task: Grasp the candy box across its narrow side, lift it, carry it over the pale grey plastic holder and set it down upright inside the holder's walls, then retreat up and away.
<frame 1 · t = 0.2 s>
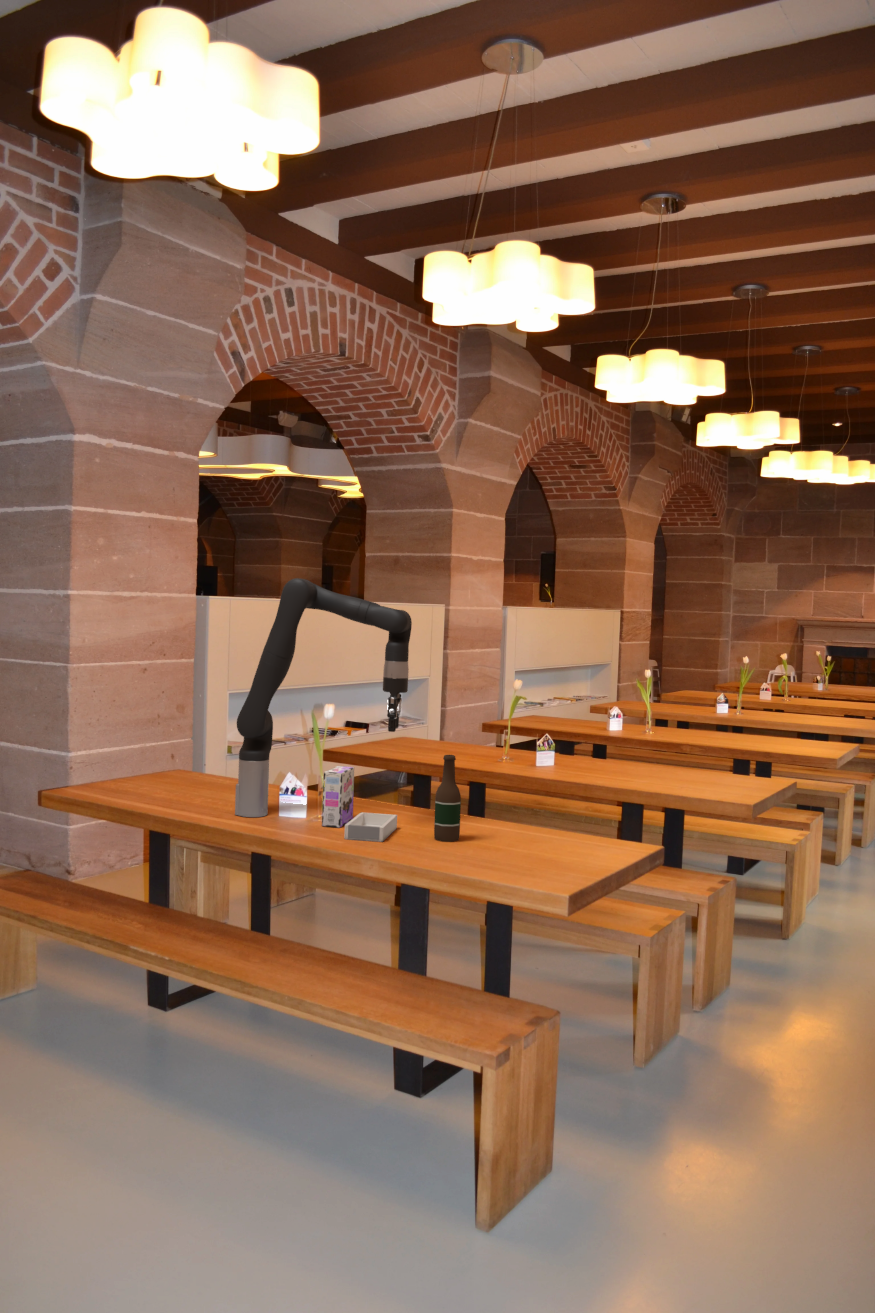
hand: (393, 729, 298), 29 cm above the table, fingers open, 8 cm apart
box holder: (371, 833, 286), on the table
candy box: (337, 823, 299), on the table
beer bottle: (446, 839, 282), on the table
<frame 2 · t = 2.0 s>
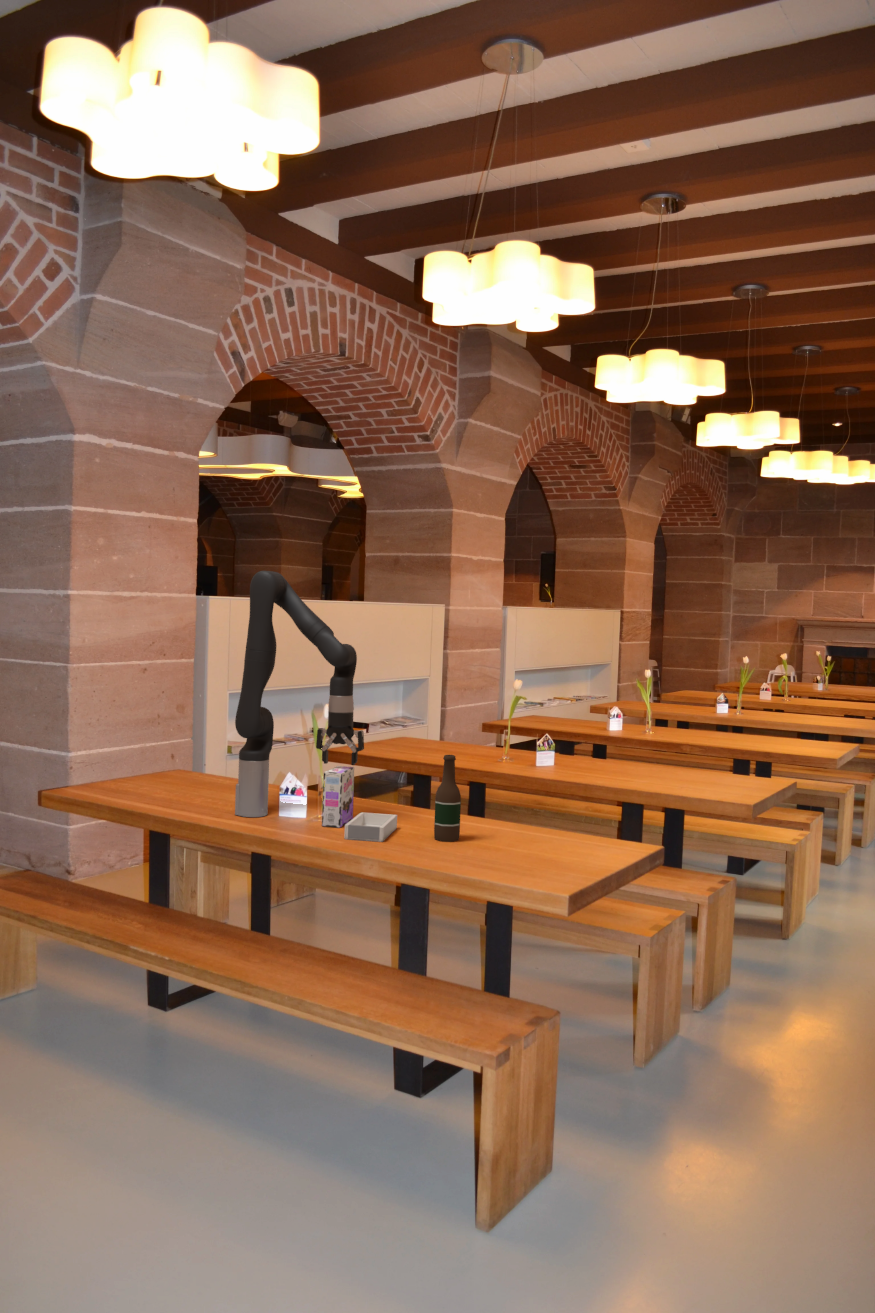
hand: (339, 764, 298), 18 cm above the table, fingers open, 8 cm apart
nothing on the table moved.
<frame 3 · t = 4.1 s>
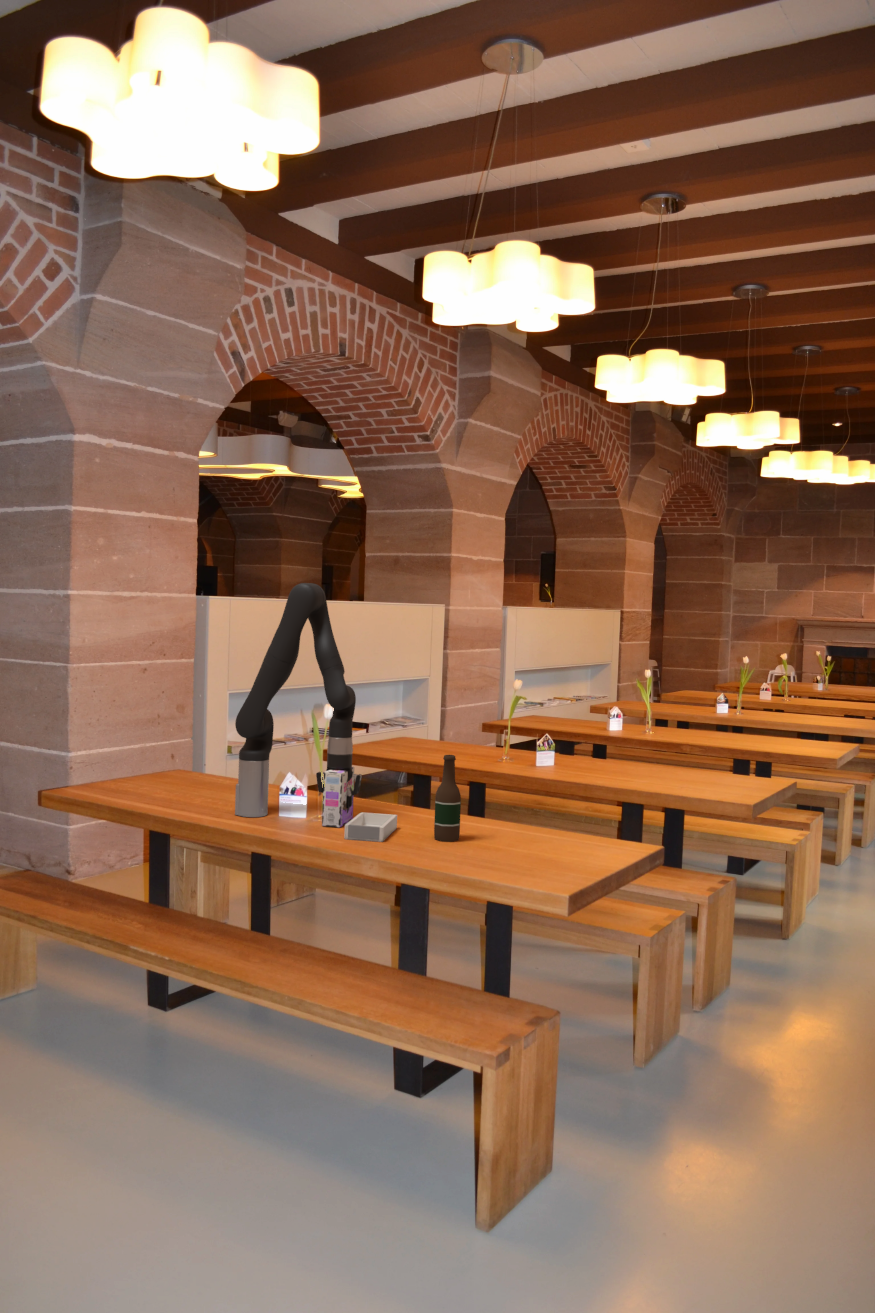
hand: (338, 807, 299), 5 cm above the table, fingers closed on candy box, 6 cm apart
candy box: (337, 823, 299), on the table, touching gripper
everything else where it was.
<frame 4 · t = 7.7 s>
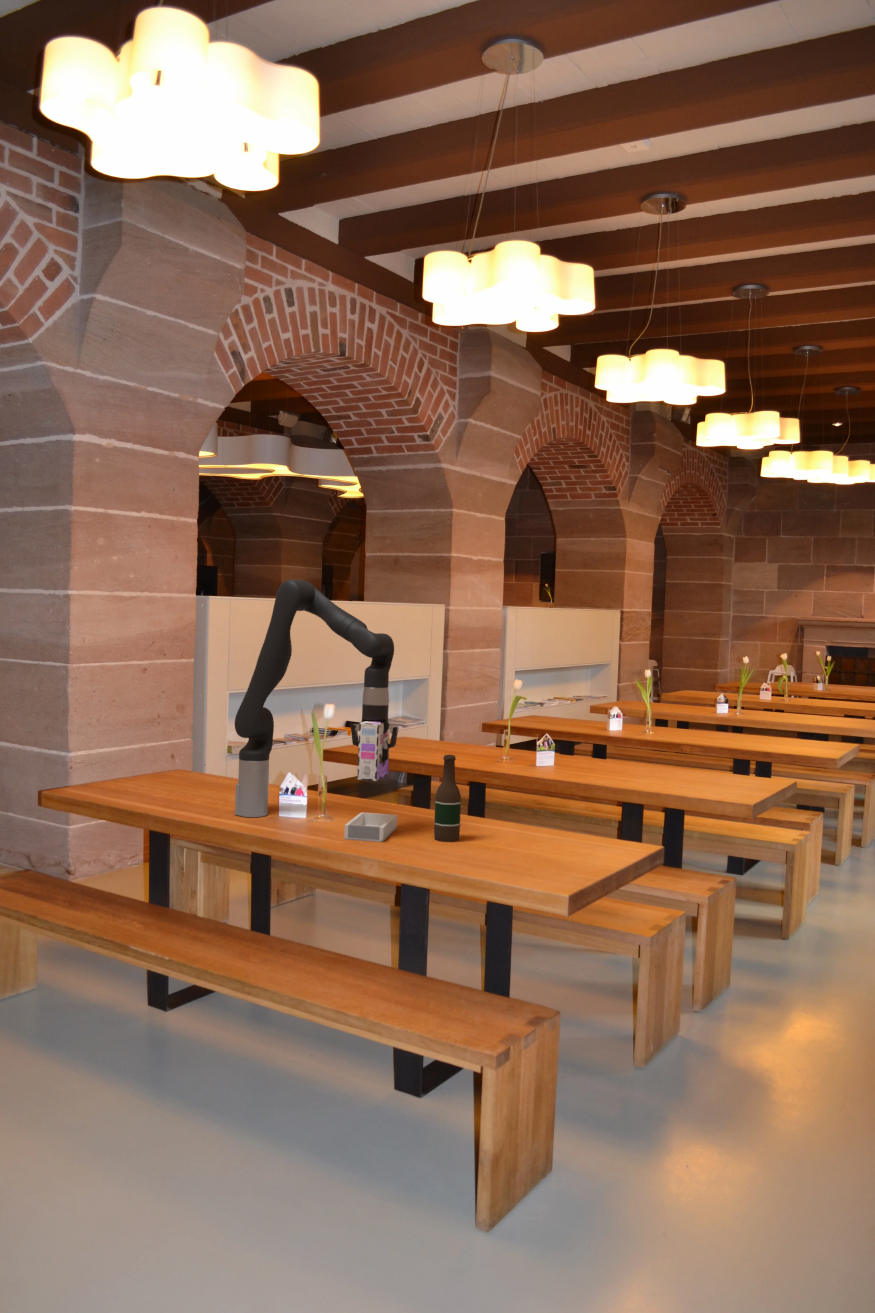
hand: (373, 761, 285), 21 cm above the table, fingers closed on candy box, 6 cm apart
candy box: (373, 778, 285), point 16 cm above the table, touching gripper
everything else where it was.
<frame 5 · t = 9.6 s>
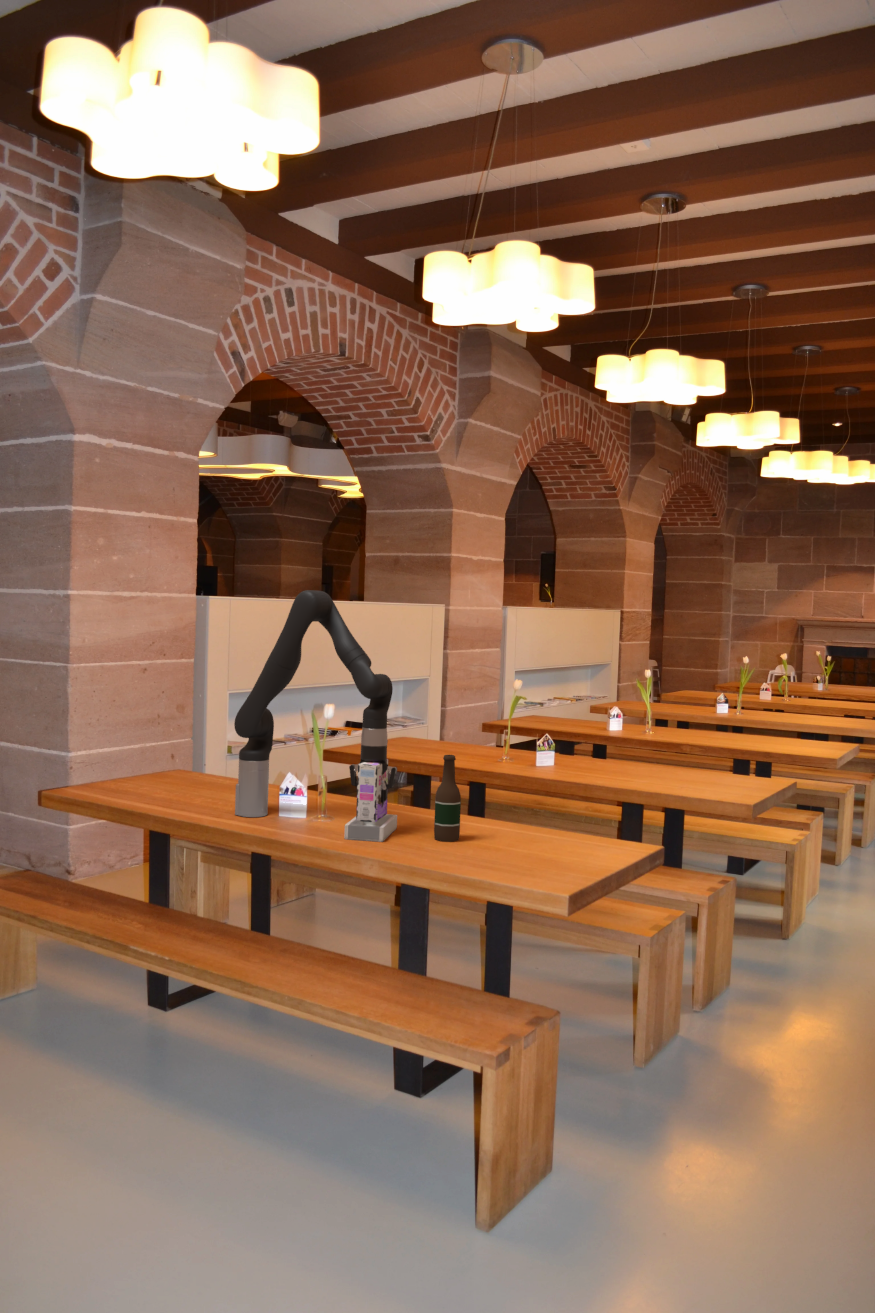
hand: (372, 801, 285), 9 cm above the table, fingers closed on candy box, 6 cm apart
candy box: (371, 818, 286), point 4 cm above the table, touching gripper
everything else where it was.
when the fingers open (7 cm above the table, at t = 11.2 s): candy box drops 1 cm, resting on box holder.
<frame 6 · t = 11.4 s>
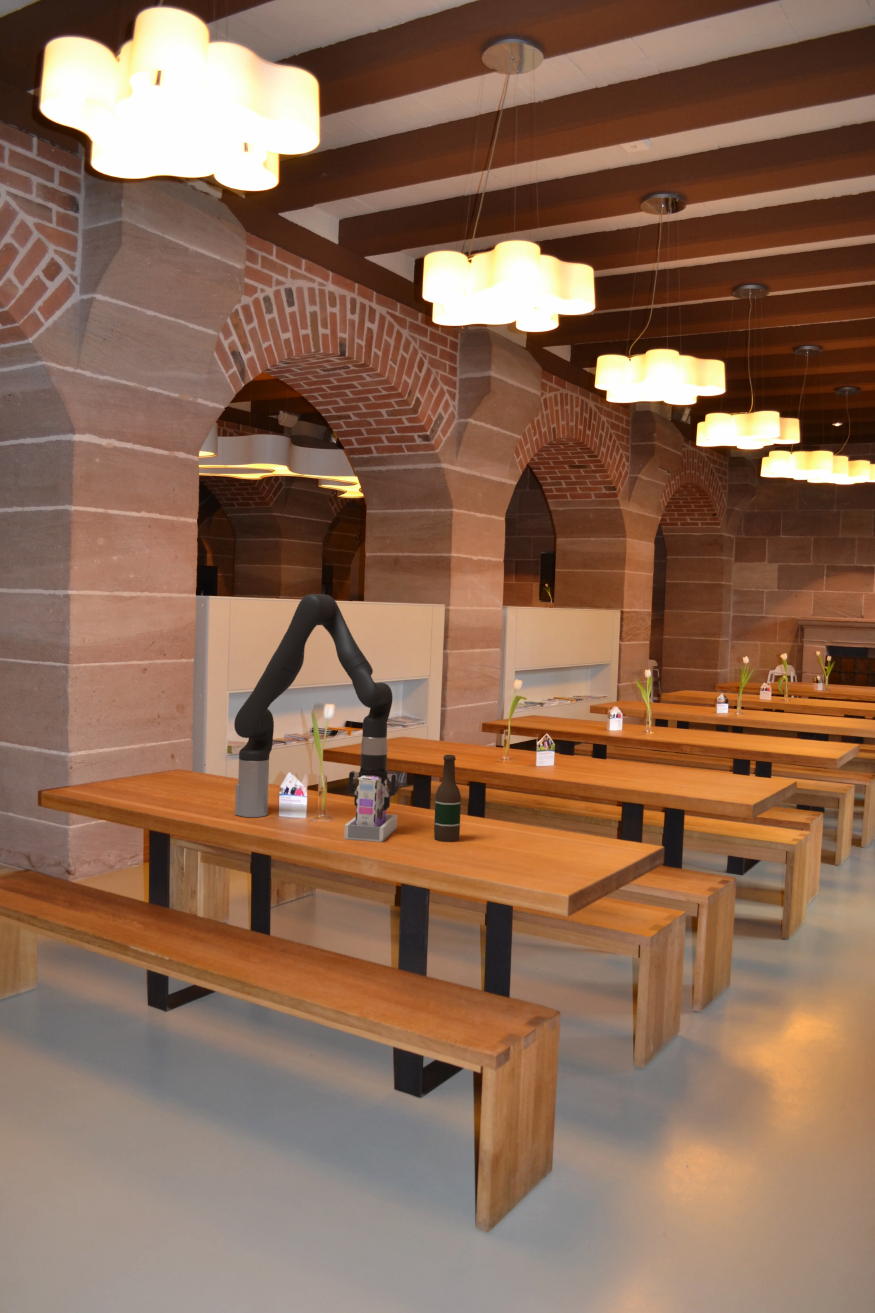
hand: (372, 808, 285), 7 cm above the table, fingers open, 7 cm apart
candy box: (370, 832, 286), resting on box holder
everything else where it was.
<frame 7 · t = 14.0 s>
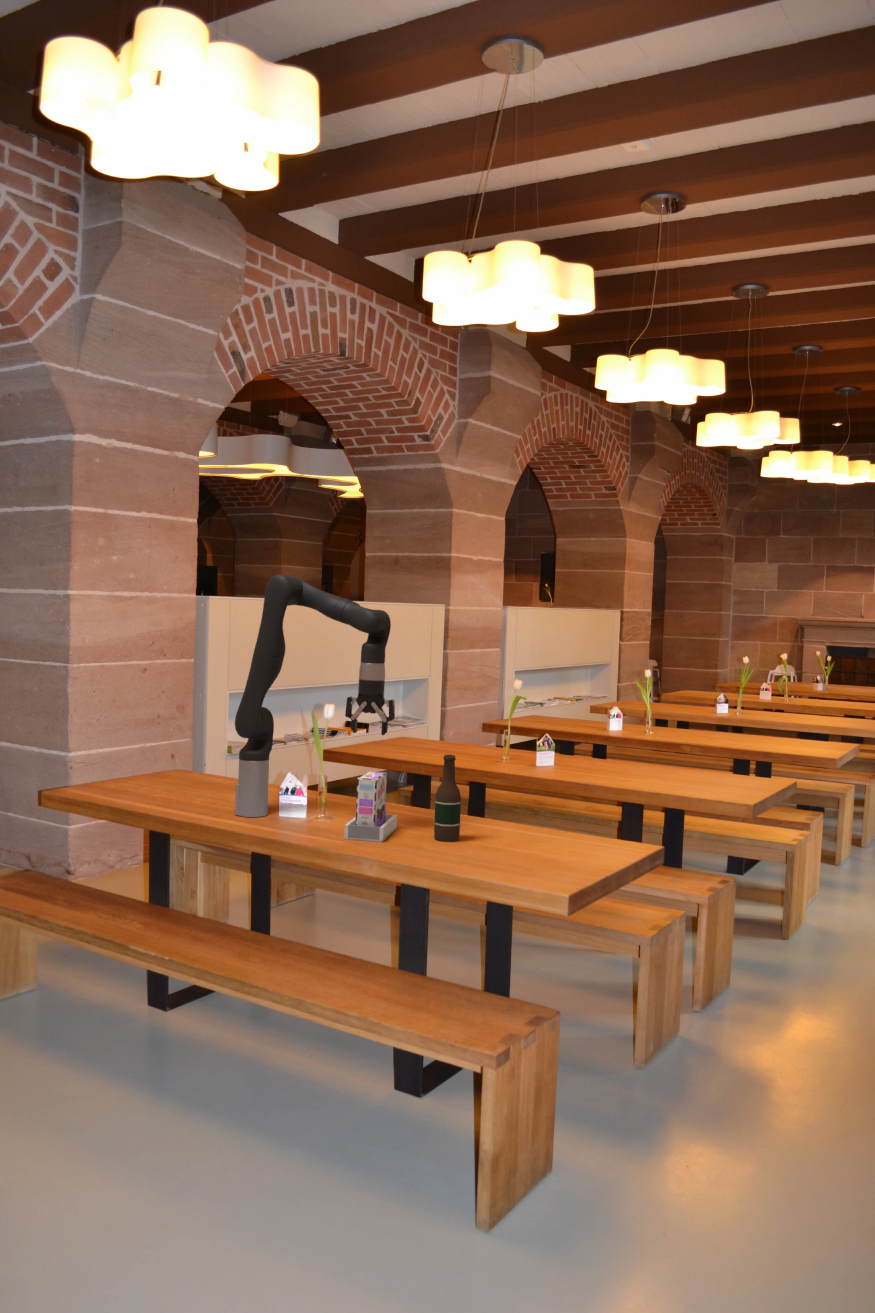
hand: (369, 733, 289), 28 cm above the table, fingers open, 8 cm apart
nothing on the table moved.
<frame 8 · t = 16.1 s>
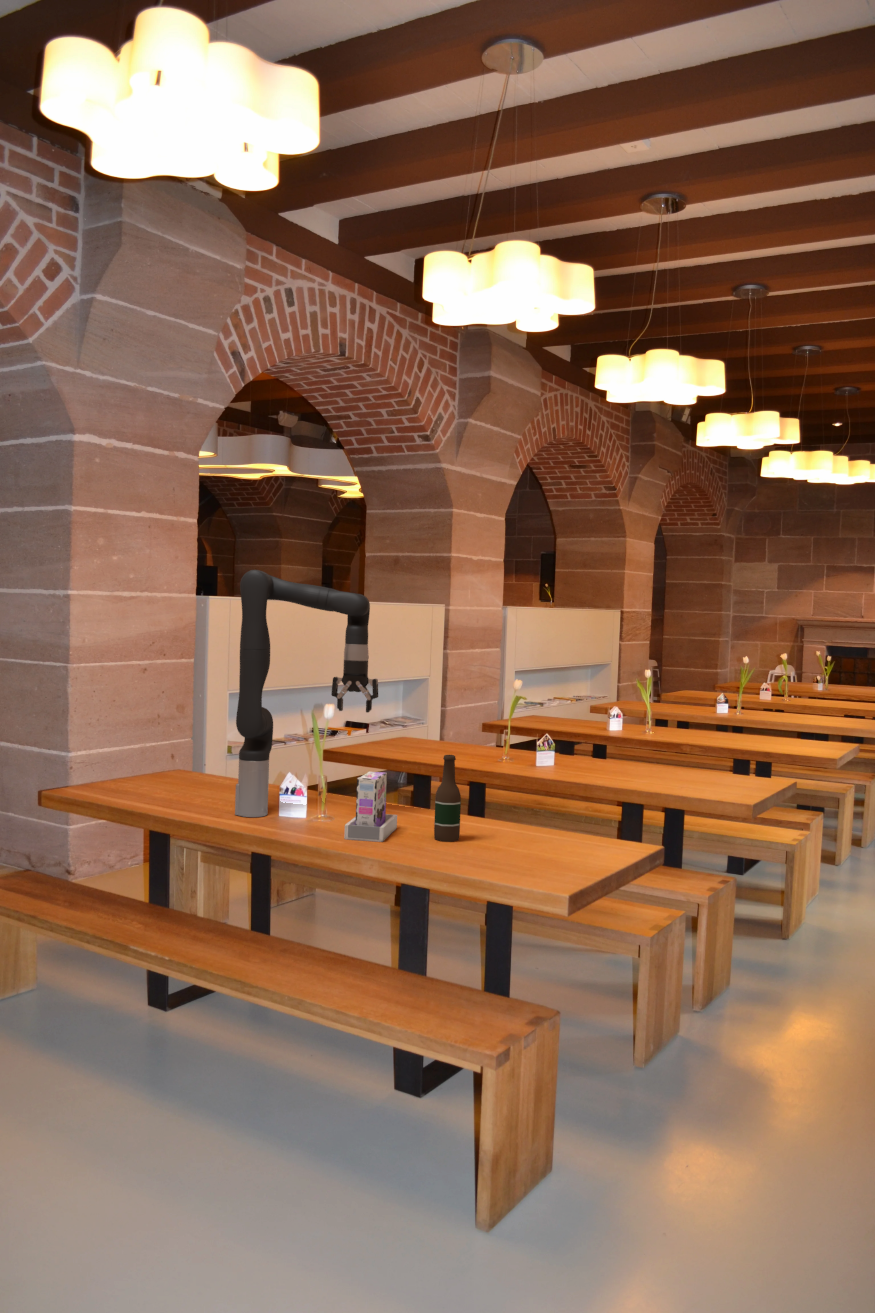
hand: (354, 711, 305), 33 cm above the table, fingers open, 8 cm apart
nothing on the table moved.
at the end: candy box 0.3 cm off-centre on the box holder, point 0.4 cm above the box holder's base; candy box tilted 0°; the gripper is holding nothing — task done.
